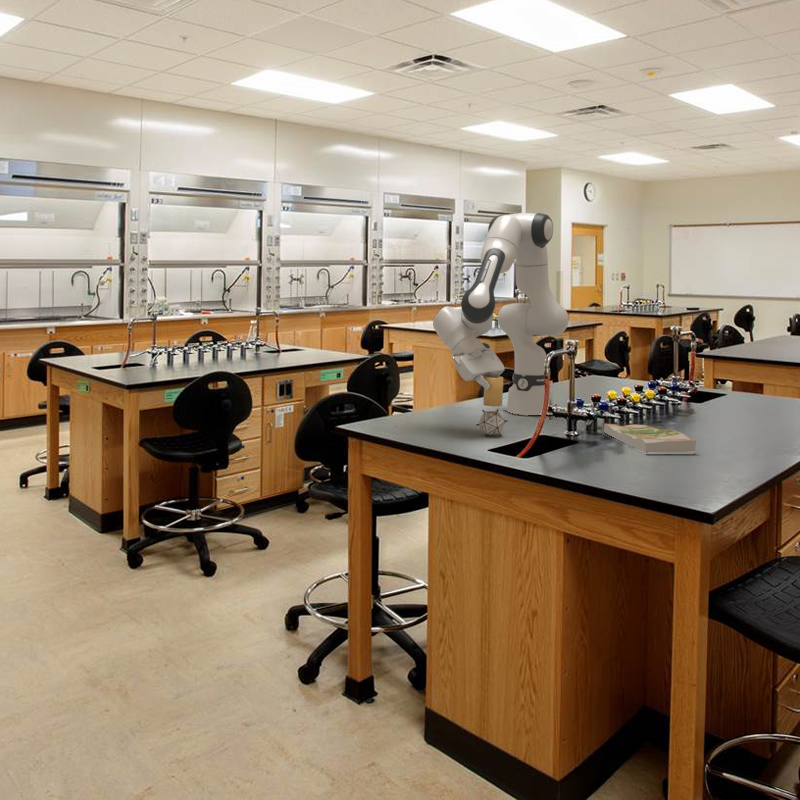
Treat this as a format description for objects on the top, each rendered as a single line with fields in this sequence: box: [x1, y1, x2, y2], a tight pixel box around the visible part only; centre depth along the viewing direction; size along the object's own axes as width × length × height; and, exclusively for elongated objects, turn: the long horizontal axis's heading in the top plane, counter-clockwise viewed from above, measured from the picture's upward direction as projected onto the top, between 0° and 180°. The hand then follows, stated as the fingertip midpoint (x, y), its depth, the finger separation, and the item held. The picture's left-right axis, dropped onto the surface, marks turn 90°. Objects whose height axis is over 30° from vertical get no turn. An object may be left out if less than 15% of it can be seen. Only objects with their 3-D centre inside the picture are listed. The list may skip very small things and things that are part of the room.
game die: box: [475, 408, 509, 438], centre depth 238 cm, size 9×8×10 cm
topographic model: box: [603, 423, 697, 453], centre depth 232 cm, size 30×14×5 cm, turn 8°
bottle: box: [483, 371, 504, 408], centre depth 236 cm, size 6×6×10 cm
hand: (495, 387), depth 236 cm, fingers closed on bottle, 5 cm apart
